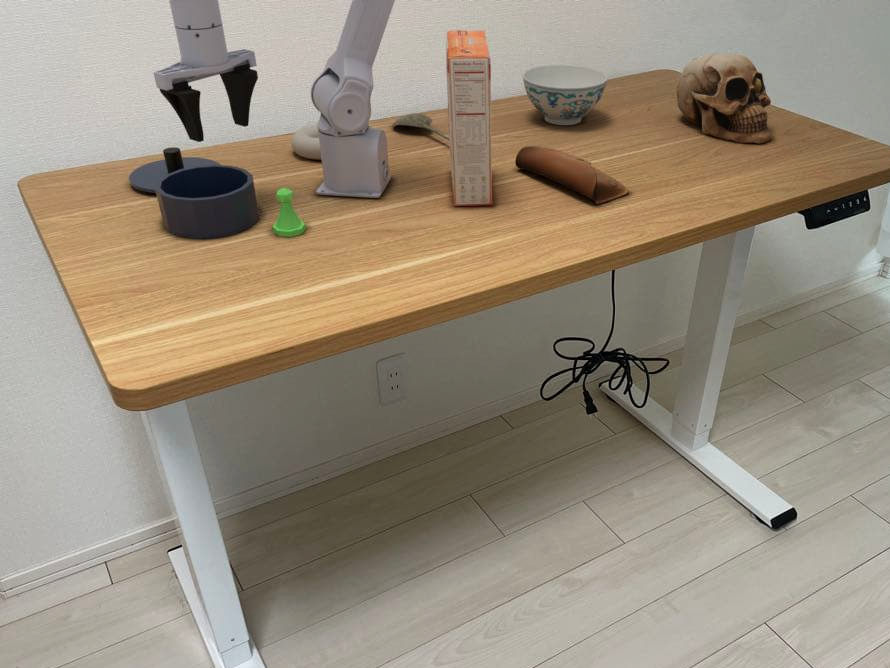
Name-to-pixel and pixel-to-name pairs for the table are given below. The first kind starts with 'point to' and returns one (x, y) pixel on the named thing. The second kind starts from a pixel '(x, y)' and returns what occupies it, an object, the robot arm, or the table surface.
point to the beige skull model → (725, 97)
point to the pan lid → (164, 169)
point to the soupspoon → (418, 123)
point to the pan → (207, 201)
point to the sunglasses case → (570, 173)
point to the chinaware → (564, 91)
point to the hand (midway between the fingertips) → (219, 132)
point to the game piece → (287, 216)
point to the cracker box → (469, 116)
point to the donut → (307, 142)
